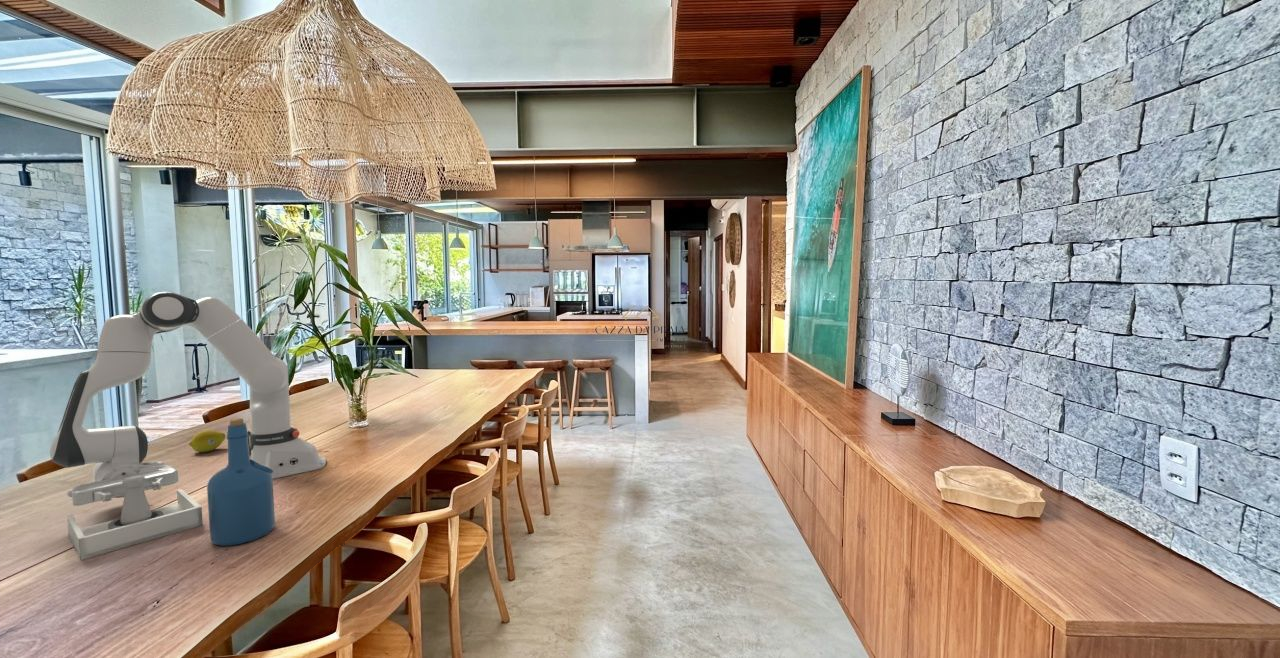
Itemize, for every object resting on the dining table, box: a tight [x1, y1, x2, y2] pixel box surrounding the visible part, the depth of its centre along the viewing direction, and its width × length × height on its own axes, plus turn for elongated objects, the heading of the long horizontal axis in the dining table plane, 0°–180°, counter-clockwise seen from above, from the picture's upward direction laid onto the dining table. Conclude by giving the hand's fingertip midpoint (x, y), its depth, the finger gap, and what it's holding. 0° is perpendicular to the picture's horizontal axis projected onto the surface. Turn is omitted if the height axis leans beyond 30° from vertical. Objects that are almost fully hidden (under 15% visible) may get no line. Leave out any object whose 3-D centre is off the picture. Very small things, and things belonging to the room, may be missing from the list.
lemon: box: [188, 429, 226, 453], centre depth 196 cm, size 11×8×8 cm
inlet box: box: [66, 488, 204, 561], centre depth 132 cm, size 20×22×5 cm
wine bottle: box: [206, 417, 276, 547], centre depth 129 cm, size 14×13×30 cm
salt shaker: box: [120, 476, 152, 526], centre depth 132 cm, size 6×6×13 cm
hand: (133, 492), depth 133 cm, fingers open, 8 cm apart
